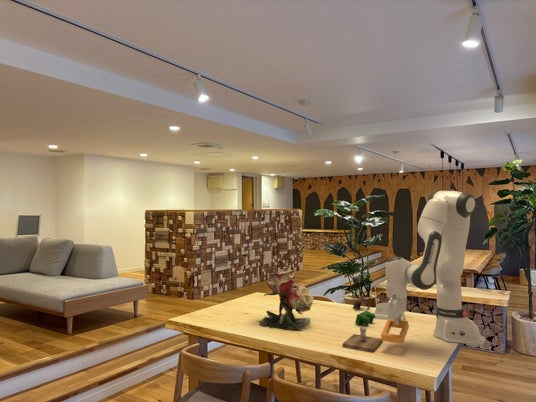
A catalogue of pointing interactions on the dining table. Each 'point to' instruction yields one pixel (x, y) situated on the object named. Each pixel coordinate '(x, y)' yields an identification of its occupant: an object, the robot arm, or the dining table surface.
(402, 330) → the small wooden tray
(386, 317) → the hinge
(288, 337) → the dining table surface
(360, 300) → the pottery mug
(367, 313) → the green lumpy block
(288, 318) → the rose bouquet
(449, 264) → the robot arm
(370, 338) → the keeper board
